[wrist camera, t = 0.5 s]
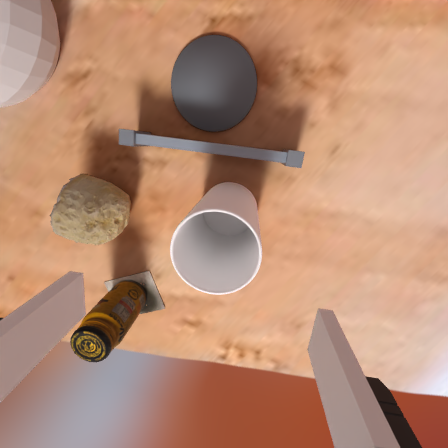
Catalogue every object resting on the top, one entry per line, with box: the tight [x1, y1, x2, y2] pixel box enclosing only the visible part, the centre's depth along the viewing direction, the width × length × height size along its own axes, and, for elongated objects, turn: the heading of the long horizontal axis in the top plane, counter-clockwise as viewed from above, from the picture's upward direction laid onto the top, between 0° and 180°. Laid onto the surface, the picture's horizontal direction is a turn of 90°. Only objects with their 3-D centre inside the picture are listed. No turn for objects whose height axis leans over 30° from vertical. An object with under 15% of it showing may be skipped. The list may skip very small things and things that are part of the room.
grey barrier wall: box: [119, 129, 305, 168], centre depth 33 cm, size 22×2×6 cm, turn 83°
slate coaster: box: [171, 35, 257, 132], centre depth 33 cm, size 11×11×1 cm
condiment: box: [71, 271, 165, 362], centre depth 38 cm, size 7×8×12 cm
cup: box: [170, 182, 262, 294], centre depth 30 cm, size 8×8×16 cm
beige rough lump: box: [50, 174, 131, 245], centre depth 35 cm, size 10×10×10 cm
